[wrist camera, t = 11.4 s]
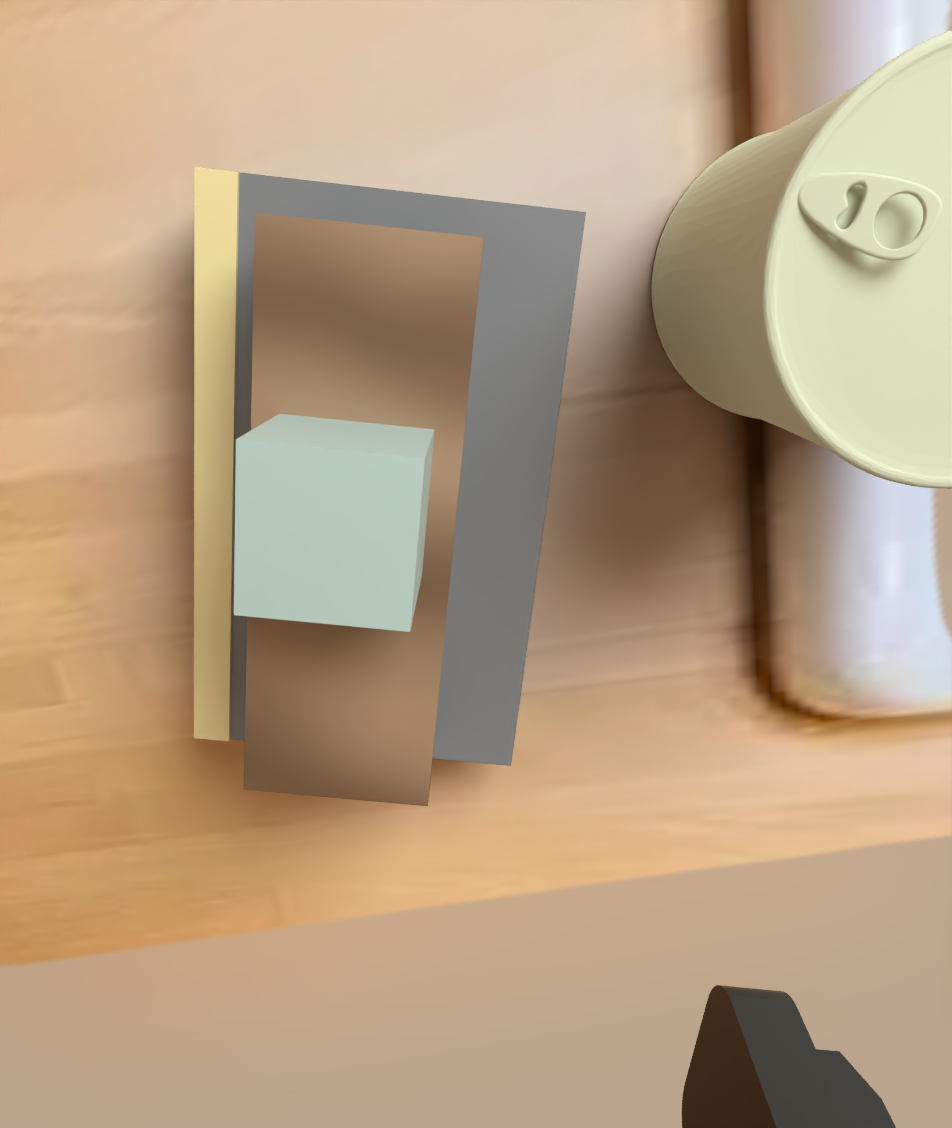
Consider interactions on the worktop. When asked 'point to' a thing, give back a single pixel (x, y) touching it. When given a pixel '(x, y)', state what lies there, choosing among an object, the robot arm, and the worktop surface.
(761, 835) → the worktop surface
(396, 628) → the pale green cube
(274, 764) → the board
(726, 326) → the can
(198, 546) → the dock
